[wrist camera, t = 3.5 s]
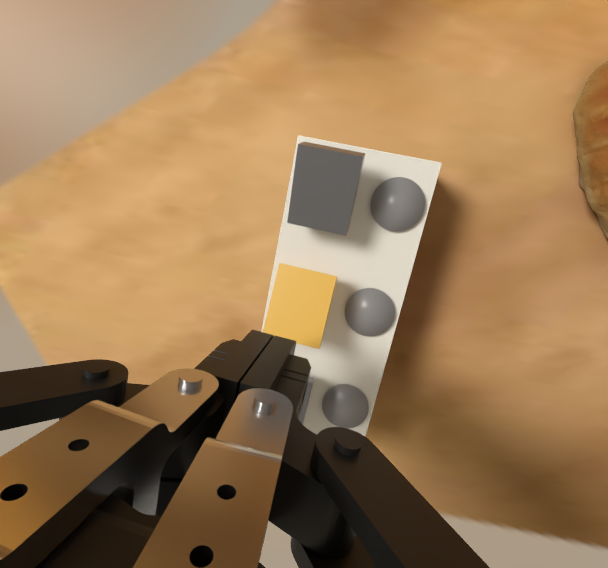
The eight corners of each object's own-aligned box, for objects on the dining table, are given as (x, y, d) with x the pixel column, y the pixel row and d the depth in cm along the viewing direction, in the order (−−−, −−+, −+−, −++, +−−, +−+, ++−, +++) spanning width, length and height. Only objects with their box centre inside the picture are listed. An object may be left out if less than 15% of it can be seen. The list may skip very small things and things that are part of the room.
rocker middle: (338, 278, 17) (336, 276, 15) (321, 344, 17) (319, 349, 15) (286, 265, 17) (279, 262, 15) (270, 330, 17) (262, 334, 15)
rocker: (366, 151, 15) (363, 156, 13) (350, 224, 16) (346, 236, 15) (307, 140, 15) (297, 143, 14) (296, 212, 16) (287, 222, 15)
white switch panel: (428, 170, 19) (442, 162, 15) (364, 408, 22) (362, 450, 18) (311, 147, 19) (297, 134, 16) (265, 381, 23) (244, 415, 19)
